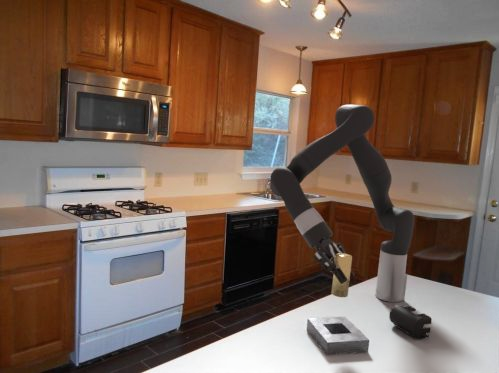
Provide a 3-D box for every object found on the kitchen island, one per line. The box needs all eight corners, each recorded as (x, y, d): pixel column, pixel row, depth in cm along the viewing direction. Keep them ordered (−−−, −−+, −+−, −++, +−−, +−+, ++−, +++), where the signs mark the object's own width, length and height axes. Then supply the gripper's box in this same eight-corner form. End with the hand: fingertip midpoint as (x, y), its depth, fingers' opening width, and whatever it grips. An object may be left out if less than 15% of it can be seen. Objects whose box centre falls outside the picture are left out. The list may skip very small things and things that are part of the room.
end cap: (387, 326, 125) (390, 305, 124) (405, 323, 128) (407, 302, 127) (412, 341, 116) (415, 319, 115) (430, 338, 119) (433, 316, 118)
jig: (344, 327, 122) (345, 316, 121) (368, 352, 108) (369, 339, 108) (306, 329, 119) (307, 318, 119) (326, 355, 105) (327, 342, 105)
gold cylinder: (343, 290, 115) (347, 253, 113) (350, 297, 110) (355, 258, 109) (328, 291, 114) (333, 253, 112) (335, 297, 109) (340, 258, 108)
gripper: (310, 223, 108) (348, 279, 103) (333, 217, 120) (368, 267, 114) (291, 238, 112) (326, 293, 106) (315, 231, 123) (348, 280, 118)
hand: (348, 279), depth 110 cm, fingers closed on gold cylinder, 4 cm apart
